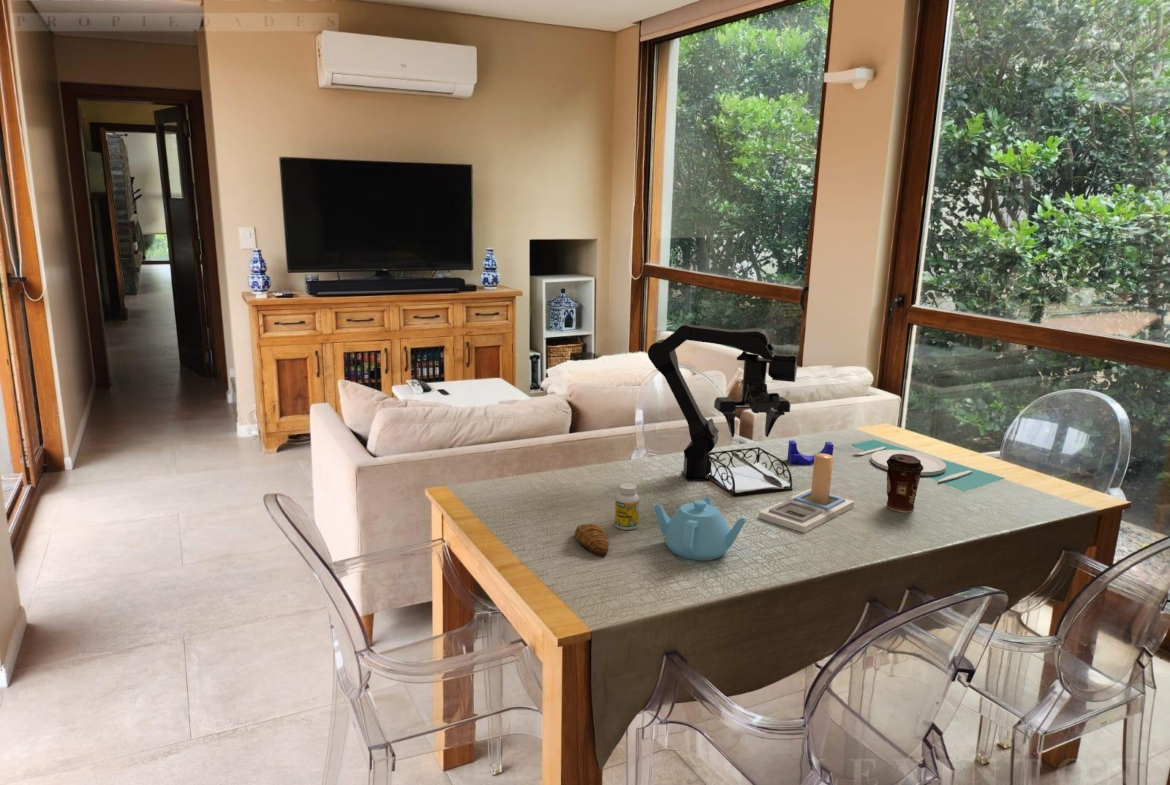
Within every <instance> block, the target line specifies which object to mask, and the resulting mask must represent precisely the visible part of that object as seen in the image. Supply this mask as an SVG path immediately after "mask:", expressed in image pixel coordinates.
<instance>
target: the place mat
mask: <svg viewBox="0 0 1170 785" xmlns="http://www.w3.org/2000/svg"><path fill="white" fill-rule="evenodd" d="M851 446H852V447H855V448H857V449H859V450H863V451H861V452H852V455H853V454H854V455H857V456H866V455H869V454H871V455H870V462H871V463H872V464H874V465H875V466H877V468H881V469H883V470H886V471H888V465H887V460H888V459H889V457H890V456H892V455H894V454H906V455H911V456H914V457H916V458H918V459H919V460H920V461H921V465H922V466H923V470H922V471H921V473H920V474H921V475H920V477H921V476H922V477H923V476H925V477H927V478H929V479H932V480H934V481H936V482H937V483H942V484H944V485H946V486H948V487H951V488H953V489H956V490H958V491H961V492H963V493H964V492H967V491H971V490H973V489H977V488H979V487H980V488H981V487H982V486H986V485H988V484H991V483H994V482H998V481H1001V480H1003V479H1005V477H1003V476H999V475H996V474H993V473H988V472H985V471H981V470H979V469H975V468H971V467H968V466H965V465H961V464H959V463H956V462H951V461H948V460H945V459H941V458H938V457H936V456H933V455H930V454H926V453H922V452H917V451H913V450H910V449H907V448H903V447H900V446H896V445H893V444H889V443H886V442H883V441H880V440H876V439H871V440H866V441H862V442H857V443H854V444H851Z"/></svg>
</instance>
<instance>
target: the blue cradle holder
mask: <svg viewBox="0 0 1170 785" xmlns="http://www.w3.org/2000/svg"><path fill="white" fill-rule="evenodd" d="M797 444H798V443H797V442H796V441H795V440H792V439H791V440H788V448H787V450H788V451H787V461H788V463H789V464H790V465H791V466H792V465H794V466H813V465H814V457H815V454H814V455H805V454H803V453H800V452H799V450H798V447H797ZM834 446H835V445H834V444H833V443H832V441H825V443H824V447H823V448H822V449H821V451H820V452H818V453H817V454H819V453H822V454H829V455H832V456H833V454H834Z"/></svg>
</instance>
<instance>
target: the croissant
mask: <svg viewBox="0 0 1170 785" xmlns="http://www.w3.org/2000/svg"><path fill="white" fill-rule="evenodd" d="M574 537H575V538H576V540H577V541H578V542H579V544H580V545H581V547H584V549H587V550H588V551H589V552H590V553H593V554H595V555H597V556H601V557H605V556H607V555H608V552H609V541H608V537H607V534H606V533H605V531H604V529H603V528H602V527H601V526H599V525H597V524H593V523H587V524H580V525H578V526H576V529H575V531H574Z"/></svg>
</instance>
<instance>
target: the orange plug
mask: <svg viewBox="0 0 1170 785" xmlns="http://www.w3.org/2000/svg"><path fill="white" fill-rule="evenodd" d="M818 453H819V452H818ZM818 453H815V454H814V455H815V457H814V464H813V468H812V478H811V496H810V501H811V502H815V503H818V504H821V505H825V506H827V505H829V494H831V493H830V492H831V485H832V484H831V483H832V473H833V466H834V465H833V463H834V456H833V455H829V454H822V453H819V454H818Z"/></svg>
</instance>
